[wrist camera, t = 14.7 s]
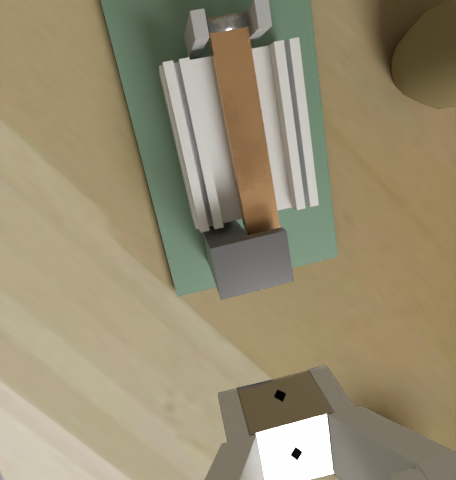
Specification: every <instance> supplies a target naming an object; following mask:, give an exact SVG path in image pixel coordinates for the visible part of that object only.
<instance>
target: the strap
mask: <svg viewBox="0 0 456 480" xmlns="http://www.w3.org/2000/svg"><path fill="white" fill-rule="evenodd" d="M206 21H207V26H208V31H209V39H208V41H209V46H210V51H211V57H212V62H213V67H214V73H215V78H216V83H217V88H218V94H219V99H220V104H221V110H222V115H223V120H224V125H225V131H226V136H227V141H228V147H229V152H230V157H231V162H232V168H233V173H234V178H235V184H236V189H237V194H238V200H239V205H240V210H241V215H242V221H243V226H244V231H245V232H246V233H247V234H248V235H251V234H255V233H259V232H263V231H268V230H272V229H276V228H280V223H279V217H278V211H277V205H276V198H275V192H274V186H273V180H272V173H271V167H270V161H269V155H268V148H267V142H266V136H265V130H264V123H263V117H262V111H261V105H260V98H259V92H258V86H257V79H256V73H255V67H254V61H253V54H252V48H251V42H250V36H249V29H248V26H247V19H246V15H245V13H244V12H238V13H232V14H226V15H221V16H215V17H209V18H206Z"/></svg>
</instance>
